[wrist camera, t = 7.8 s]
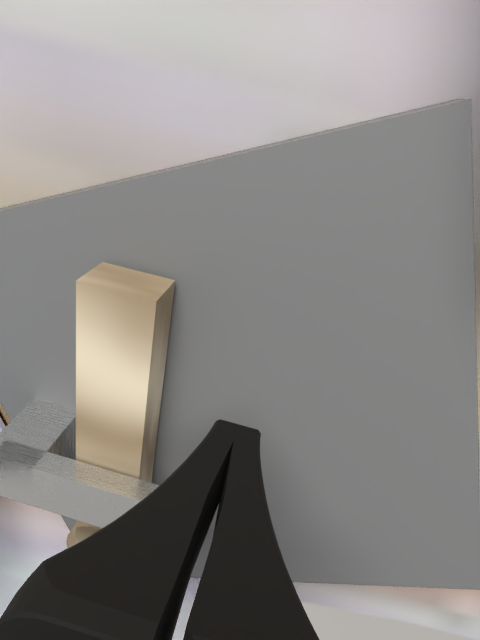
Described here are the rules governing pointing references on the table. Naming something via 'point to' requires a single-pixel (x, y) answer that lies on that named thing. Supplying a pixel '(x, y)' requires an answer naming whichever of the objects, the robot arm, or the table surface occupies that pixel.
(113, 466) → the link
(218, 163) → the board
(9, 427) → the keeper
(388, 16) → the table surface
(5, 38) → the table surface
